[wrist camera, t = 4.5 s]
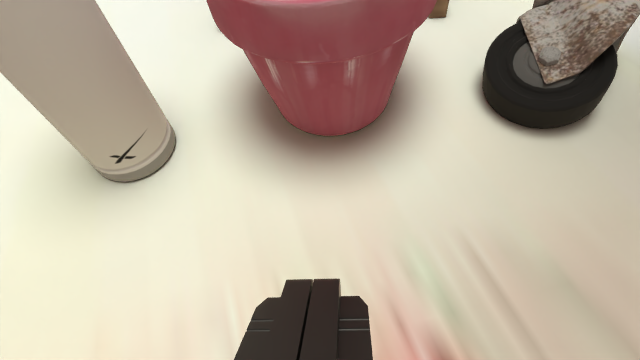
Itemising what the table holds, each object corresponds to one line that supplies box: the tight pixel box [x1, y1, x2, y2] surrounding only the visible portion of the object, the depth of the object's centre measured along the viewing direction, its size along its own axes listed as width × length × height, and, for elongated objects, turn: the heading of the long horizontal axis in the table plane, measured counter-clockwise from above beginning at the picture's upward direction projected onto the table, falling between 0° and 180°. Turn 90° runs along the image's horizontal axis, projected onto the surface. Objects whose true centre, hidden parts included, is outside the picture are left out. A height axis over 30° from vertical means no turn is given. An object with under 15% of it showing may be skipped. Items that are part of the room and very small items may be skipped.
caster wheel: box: [483, 0, 640, 128], centre depth 29 cm, size 7×11×10 cm
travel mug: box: [0, 0, 175, 182], centre depth 22 cm, size 6×7×20 cm
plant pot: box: [207, 0, 437, 136], centre depth 27 cm, size 14×14×13 cm
